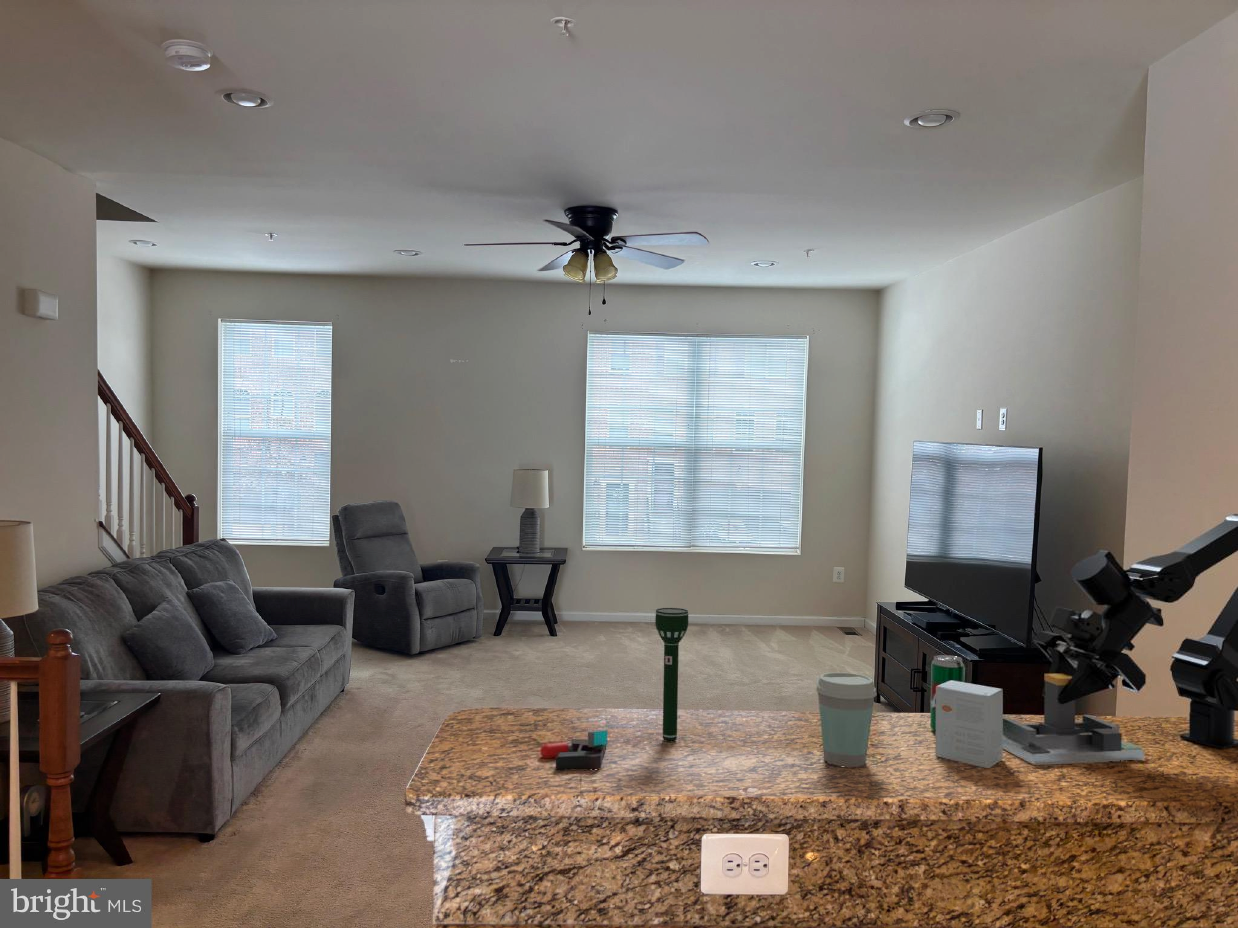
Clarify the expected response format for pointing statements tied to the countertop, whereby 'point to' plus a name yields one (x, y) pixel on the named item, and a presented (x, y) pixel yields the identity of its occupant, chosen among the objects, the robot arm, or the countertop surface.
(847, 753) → the coffee cup
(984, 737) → the small box
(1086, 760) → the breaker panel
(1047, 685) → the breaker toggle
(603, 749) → the toy gun
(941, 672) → the soda can
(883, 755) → the countertop surface
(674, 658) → the flashlight
